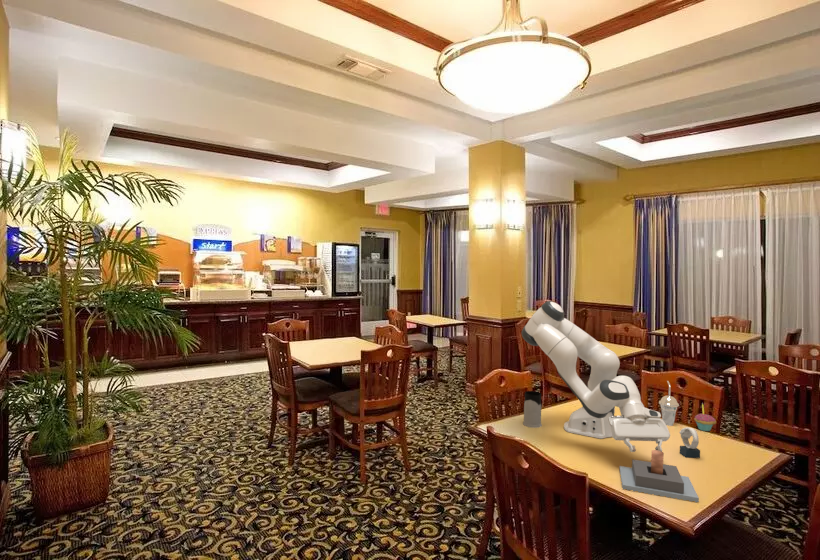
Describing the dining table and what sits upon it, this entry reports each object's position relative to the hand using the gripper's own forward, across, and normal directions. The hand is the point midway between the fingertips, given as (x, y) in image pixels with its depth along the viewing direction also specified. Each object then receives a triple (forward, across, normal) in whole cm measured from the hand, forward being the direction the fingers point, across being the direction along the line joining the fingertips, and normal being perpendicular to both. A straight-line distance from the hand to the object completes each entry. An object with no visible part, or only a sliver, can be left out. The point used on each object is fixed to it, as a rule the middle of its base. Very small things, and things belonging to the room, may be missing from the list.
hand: (646, 451), depth 164 cm
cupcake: (-28, +51, +41) cm, 71 cm away
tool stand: (+12, -1, 0) cm, 12 cm away
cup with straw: (-33, +38, +45) cm, 68 cm away
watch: (-7, +26, +19) cm, 33 cm away
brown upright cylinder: (+11, -1, -1) cm, 11 cm away
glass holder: (-31, -27, +43) cm, 60 cm away
